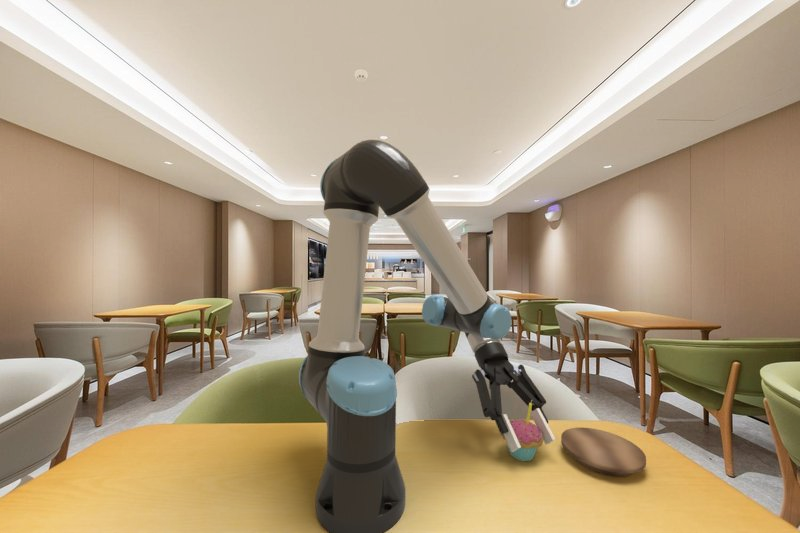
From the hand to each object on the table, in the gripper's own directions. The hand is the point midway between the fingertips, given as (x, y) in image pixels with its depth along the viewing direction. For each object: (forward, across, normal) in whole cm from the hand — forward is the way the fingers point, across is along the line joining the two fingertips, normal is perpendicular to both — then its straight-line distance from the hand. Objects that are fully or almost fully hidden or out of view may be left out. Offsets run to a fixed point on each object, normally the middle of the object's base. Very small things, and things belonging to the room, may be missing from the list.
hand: (533, 445), depth 65 cm
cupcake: (0, 0, -5) cm, 5 cm away
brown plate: (+5, -15, 0) cm, 15 cm away
